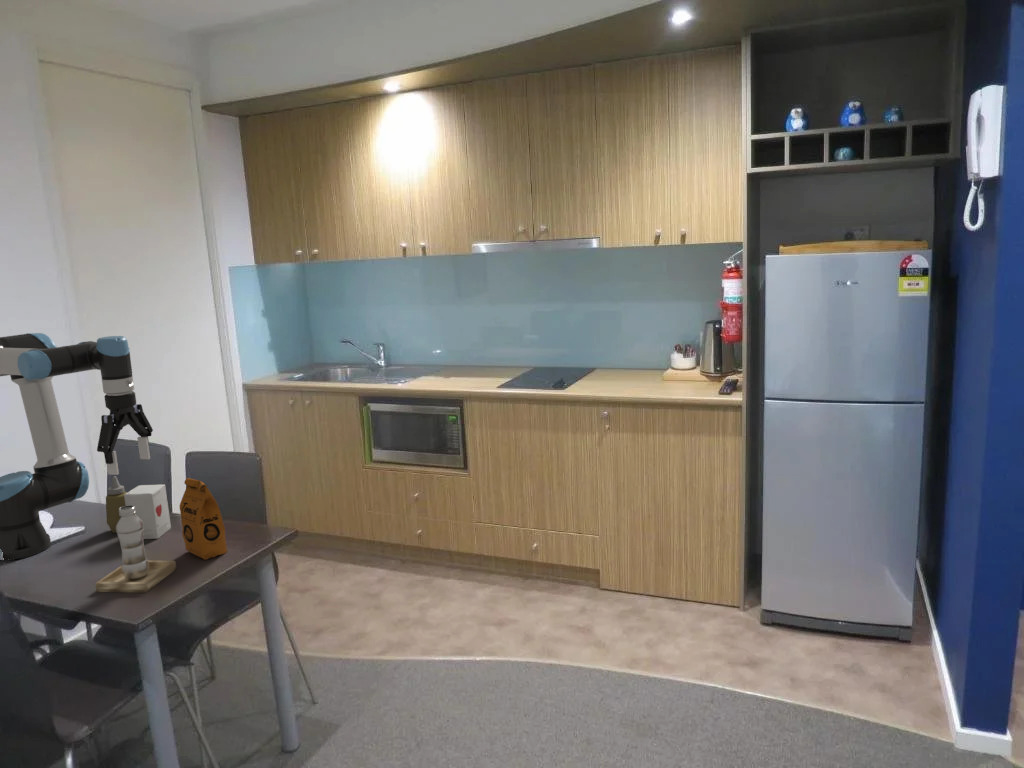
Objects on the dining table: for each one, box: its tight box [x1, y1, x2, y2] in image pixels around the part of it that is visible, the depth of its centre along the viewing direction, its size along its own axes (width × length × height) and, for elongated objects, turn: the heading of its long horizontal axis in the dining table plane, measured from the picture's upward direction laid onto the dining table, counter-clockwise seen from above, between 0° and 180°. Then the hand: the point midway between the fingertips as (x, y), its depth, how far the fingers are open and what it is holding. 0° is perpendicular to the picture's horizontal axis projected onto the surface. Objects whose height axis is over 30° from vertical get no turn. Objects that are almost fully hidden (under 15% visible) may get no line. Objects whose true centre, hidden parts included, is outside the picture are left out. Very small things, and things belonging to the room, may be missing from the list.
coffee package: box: [179, 477, 228, 561], centre depth 212 cm, size 10×12×22 cm
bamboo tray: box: [94, 559, 177, 594], centre depth 197 cm, size 14×14×2 cm
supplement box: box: [124, 484, 172, 540], centre depth 228 cm, size 9×9×15 cm
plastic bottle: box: [116, 505, 149, 580], centre depth 195 cm, size 6×7×20 cm
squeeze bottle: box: [105, 475, 128, 534], centre depth 232 cm, size 8×8×18 cm
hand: (130, 466), depth 204 cm, fingers open, 13 cm apart
